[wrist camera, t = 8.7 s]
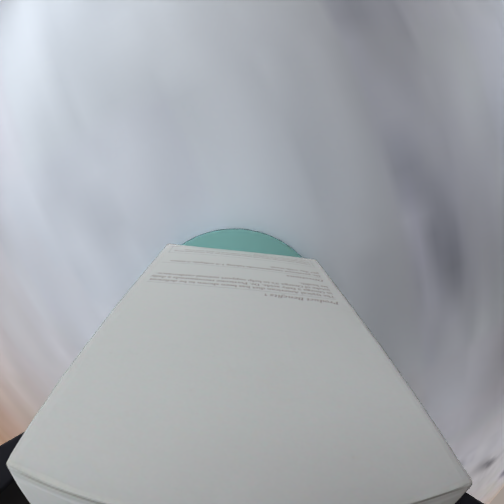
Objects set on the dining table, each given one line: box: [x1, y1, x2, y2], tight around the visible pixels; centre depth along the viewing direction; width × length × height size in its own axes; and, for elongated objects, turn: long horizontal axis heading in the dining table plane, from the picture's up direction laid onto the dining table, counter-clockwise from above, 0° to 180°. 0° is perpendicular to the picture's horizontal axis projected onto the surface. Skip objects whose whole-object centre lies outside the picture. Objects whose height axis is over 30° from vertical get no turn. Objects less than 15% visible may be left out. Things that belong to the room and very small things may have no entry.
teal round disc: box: [182, 229, 302, 258], centre depth 16 cm, size 9×9×1 cm
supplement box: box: [6, 244, 472, 504], centre depth 10 cm, size 7×7×13 cm
